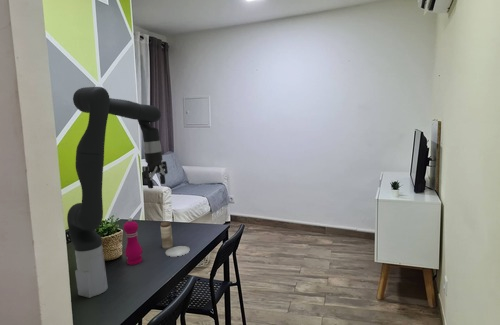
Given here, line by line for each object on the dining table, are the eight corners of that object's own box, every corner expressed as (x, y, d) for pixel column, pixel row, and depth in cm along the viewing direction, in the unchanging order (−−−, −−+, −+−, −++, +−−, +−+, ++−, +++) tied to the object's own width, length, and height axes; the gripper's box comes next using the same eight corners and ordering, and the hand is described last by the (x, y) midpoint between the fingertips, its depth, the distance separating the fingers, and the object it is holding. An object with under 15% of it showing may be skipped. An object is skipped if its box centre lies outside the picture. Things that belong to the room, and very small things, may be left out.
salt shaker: (168, 249, 167) (166, 224, 165) (160, 247, 169) (157, 223, 167) (175, 245, 171) (172, 221, 170) (166, 244, 174) (164, 220, 172)
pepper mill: (138, 265, 150) (133, 220, 148) (122, 265, 152) (117, 220, 149) (146, 258, 157) (141, 215, 155) (131, 258, 159) (126, 215, 156)
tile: (180, 258, 156) (180, 256, 155) (160, 255, 160) (160, 253, 160) (194, 248, 165) (194, 247, 165) (175, 246, 170) (175, 245, 170)
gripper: (148, 153, 151) (153, 190, 154) (169, 148, 164) (173, 182, 166) (135, 153, 154) (140, 189, 157) (156, 148, 167) (160, 182, 169)
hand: (157, 186), depth 162 cm, fingers open, 8 cm apart
